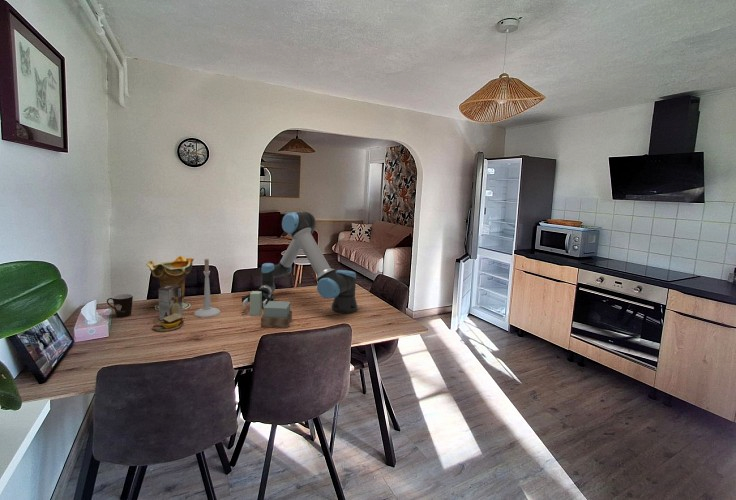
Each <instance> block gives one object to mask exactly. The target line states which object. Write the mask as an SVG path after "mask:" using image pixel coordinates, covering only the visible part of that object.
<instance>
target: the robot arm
mask: <svg viewBox="0 0 736 500" xmlns="http://www.w3.org/2000/svg"><path fill="white" fill-rule="evenodd" d="M316 225H317V220H316V217H314V215H313V214H312V213H310V212H306V211H302V212H301V211H300V212H299V211H298V212H297V211H296V212H295V211H291V212H287V213H286V214H285V215H284V216H283V217H282V220H281V227H282V230H283V231H284V232H285V233H286V234H288V235H291V237H292V239H291V241H290V243H289V245H288V246H287V249H286V250H285V252H284V253H283V255H282V258H281V259H280V261H279V262H278V264H274V263H272V262H265V263H263V264H262V265H261V282H260V283H261V286H260V287H259V288H258V289H257V291H262V308H263V309H264V307H265V306H266V305H267V303H268V302H269V301H274V294H273V293H275V289H276V285H275V278H278V277H282V276H287V275H289V274H291V272H292V268H293V267H292V265H293V263H294V261H295V260H296V259H297V258H298V257H297V256H299V253H300V251H301V250H302V252H303V254H304V255H305V257H306V258H307V260H308V262H309V264H310V265H311V268H312V269H313V271H314V273H315V274H316V283H317V284H316V286H317V287H316V290H317V292H318V294H319V295H320V297H322V298H324V299H328V300H330V299H333V301H332V303H331V310H332V311H333V312H336V313H341V314H351V313H350V312H352V313H355V312H357V311H356V310H358V304H357V299H356V286H357V285H356V283H357V274H356V272H355V271H352V270H346V269H337V270H336V269H335V268H331V266H330V264H329V263H328V260H327V259H326V257H325V256H324V254H323V252H322V251H321V249H320V247H319V246H318V243H317V242H316V240H315V238H314V236H313V233H314V232H315V229H316ZM250 293H251V292H250ZM250 293H248V294H247V295H244V296H241V303H242V307H243V308H244V307H246V306H247V305H248V304H249V303H250ZM354 311H355V312H354Z"/></svg>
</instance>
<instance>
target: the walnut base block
mask: <svg viewBox="0 0 736 500" xmlns="http://www.w3.org/2000/svg"><path fill="white" fill-rule="evenodd" d="M292 319H293V310H290V312H289V314H288V316H287V318H268V317H264V314H263V315H262V316H261V318H260V327H261V328H274V329H275V328H278V329H279V328H280V329H288V328H289V326H290V324H291V321H292Z"/></svg>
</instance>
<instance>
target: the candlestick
mask: <svg viewBox="0 0 736 500" xmlns="http://www.w3.org/2000/svg"><path fill="white" fill-rule="evenodd" d="M202 272H203V274H204V277H205V278H204V291H203V293H204V294H203V307H202V308H199V309H198V308H197V310H195V311H194V312H193V316H195V317H197V318H213V317H216V316H218V315H220V314H221V310H220V309H219V308H217V307H212V304H211V290H210V289H211V287H210V275H211V274H210V273H211V271H210V260H209V258H205V259H204V271H202Z"/></svg>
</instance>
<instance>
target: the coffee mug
mask: <svg viewBox="0 0 736 500" xmlns="http://www.w3.org/2000/svg"><path fill="white" fill-rule="evenodd" d="M133 299H134V295H133V294H132V293H121V294H117V295H113V296H112V297H109V298H107V299H106V304H107V305H108V306H109V307H110V308H112V309H114V313H115V317H116V318H121V319H122V318H127V317H130V316H132V310H133V301H134V300H133ZM109 300H111V301H112V302H113V305H111V304H110V303H109Z"/></svg>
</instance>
